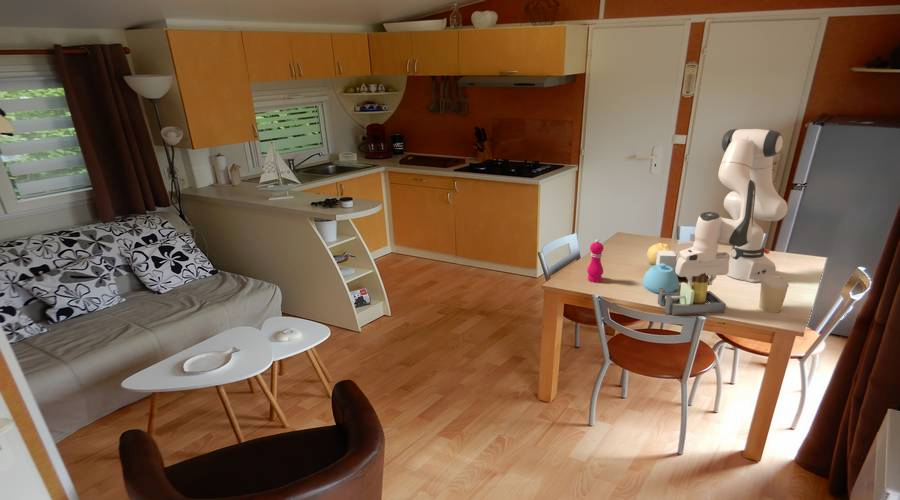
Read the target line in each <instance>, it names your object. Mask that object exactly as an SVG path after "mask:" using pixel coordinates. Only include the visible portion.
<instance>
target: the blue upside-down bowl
mask: <svg viewBox="0 0 900 500" xmlns="http://www.w3.org/2000/svg"><path fill="white" fill-rule="evenodd" d="M678 277H679V276H678V275H677V274H676V272H675V271H674V270H673V268H672V267H670V266H667V265H666V264H664V263H660V264H659V265H652V266H651V267H650V268H648V270H647V271H646V272H645V274H644V276H643V279H642V285H643V286H644V288H645V289H646V290H647V289H648V290H647V291H649V292H651V291H652V292H651V293H654V292H655V293H654V294H659V288H663V289H664V290H665V293H675V292H676V291H677V290H678V289H679V287H680V281H679V278H678Z"/></svg>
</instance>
